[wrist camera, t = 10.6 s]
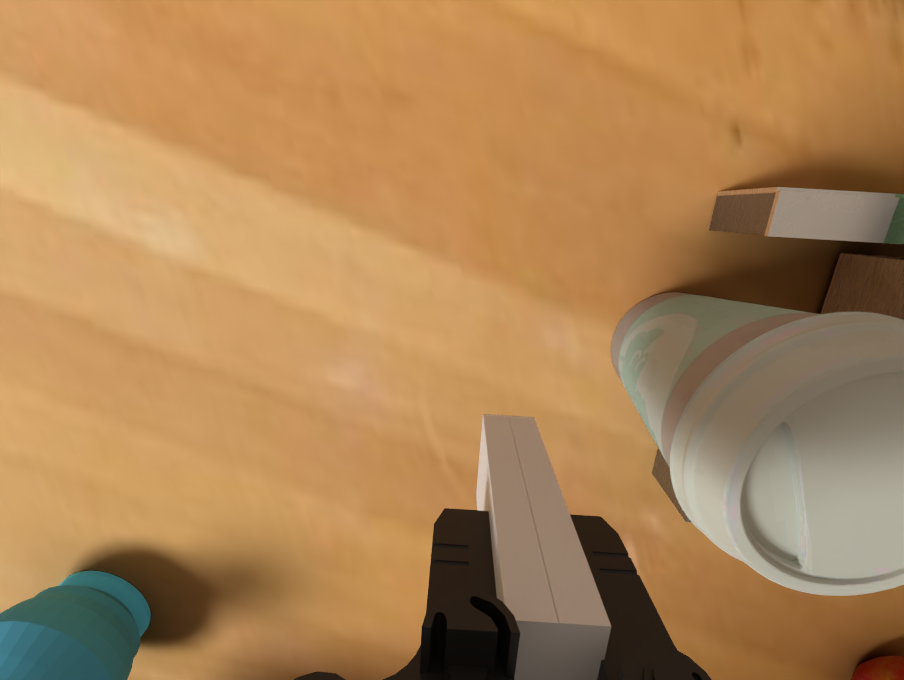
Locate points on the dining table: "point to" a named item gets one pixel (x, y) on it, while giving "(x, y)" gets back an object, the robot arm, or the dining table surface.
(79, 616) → the perfume bottle
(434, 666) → the robot arm
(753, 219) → the gauge base
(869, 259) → the grey rectangular block
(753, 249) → the dining table surface
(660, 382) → the coffee cup
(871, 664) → the fruit
